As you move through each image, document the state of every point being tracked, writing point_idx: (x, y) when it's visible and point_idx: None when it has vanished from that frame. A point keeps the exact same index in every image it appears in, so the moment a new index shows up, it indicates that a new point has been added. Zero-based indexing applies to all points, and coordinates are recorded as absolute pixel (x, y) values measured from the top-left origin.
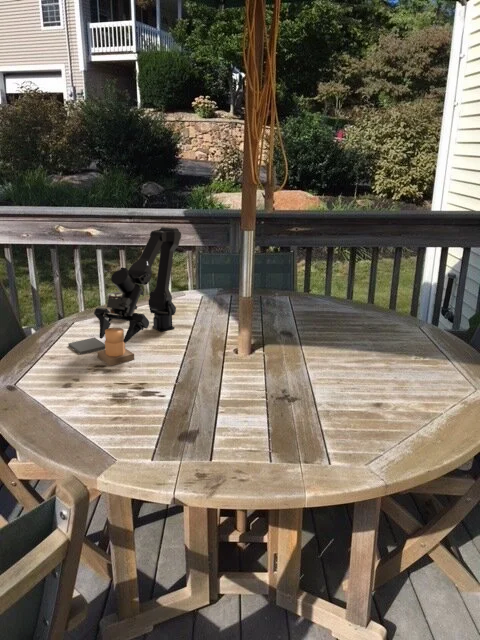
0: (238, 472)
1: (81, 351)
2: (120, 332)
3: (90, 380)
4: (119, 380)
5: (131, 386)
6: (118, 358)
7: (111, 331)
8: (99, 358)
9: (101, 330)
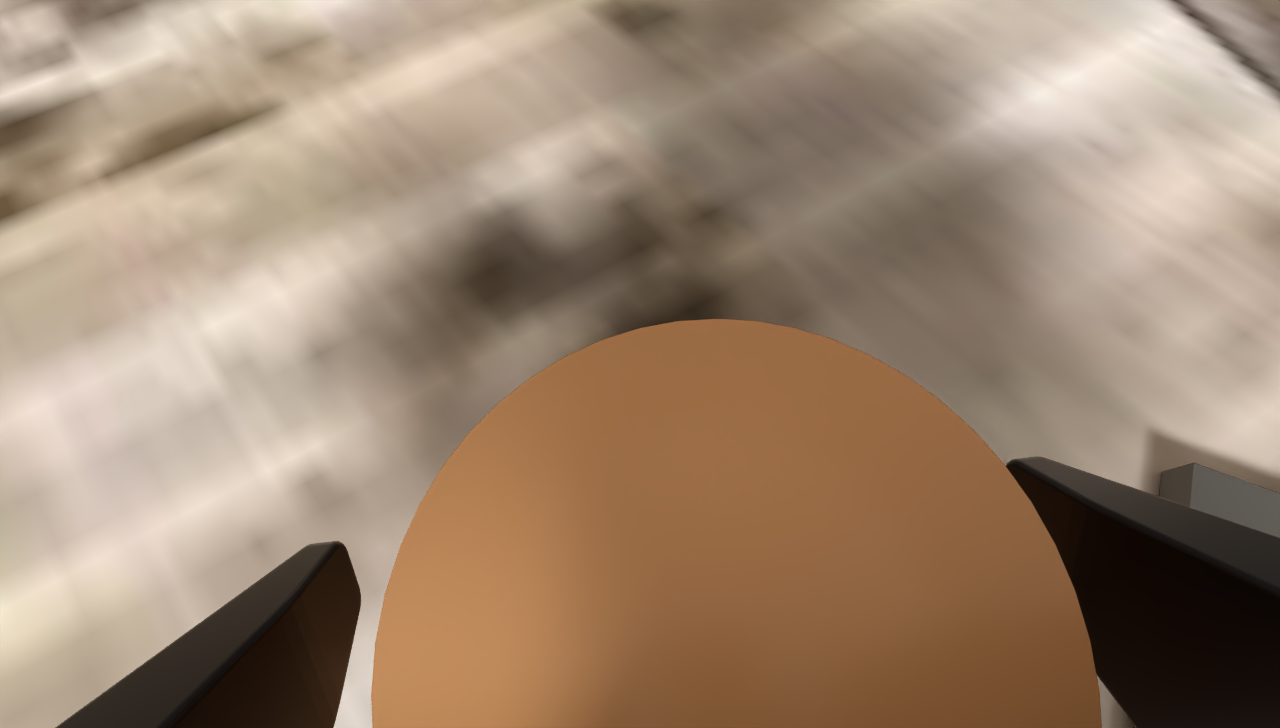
0: None
1: (1198, 483)
2: (389, 587)
3: (519, 57)
4: (259, 168)
5: (82, 129)
6: None
7: (736, 489)
8: None
9: (1197, 537)
